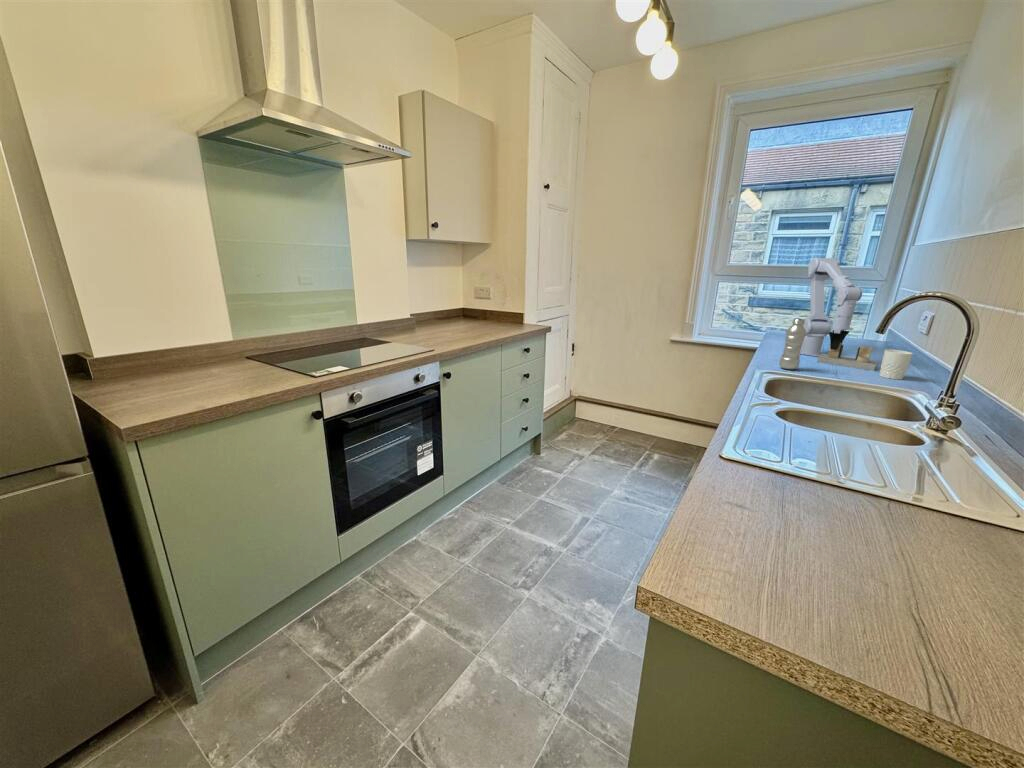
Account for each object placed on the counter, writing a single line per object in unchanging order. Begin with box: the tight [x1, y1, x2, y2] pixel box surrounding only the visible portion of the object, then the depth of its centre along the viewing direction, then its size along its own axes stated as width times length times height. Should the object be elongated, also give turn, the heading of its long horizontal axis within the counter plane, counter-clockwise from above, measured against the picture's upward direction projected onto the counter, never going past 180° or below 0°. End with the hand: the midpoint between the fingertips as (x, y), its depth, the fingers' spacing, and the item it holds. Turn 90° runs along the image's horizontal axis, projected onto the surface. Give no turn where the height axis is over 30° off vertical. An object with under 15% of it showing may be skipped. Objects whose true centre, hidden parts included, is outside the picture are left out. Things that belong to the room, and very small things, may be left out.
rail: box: [816, 353, 878, 372], centre depth 173 cm, size 19×8×3 cm, turn 45°
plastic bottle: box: [778, 317, 806, 370], centre depth 160 cm, size 6×7×20 cm
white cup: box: [878, 349, 914, 380], centre depth 154 cm, size 8×8×10 cm
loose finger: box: [827, 342, 844, 358], centre depth 175 cm, size 4×4×7 cm
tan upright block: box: [855, 345, 873, 363], centre depth 168 cm, size 4×4×7 cm
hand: (835, 348), depth 174 cm, fingers open, 7 cm apart
